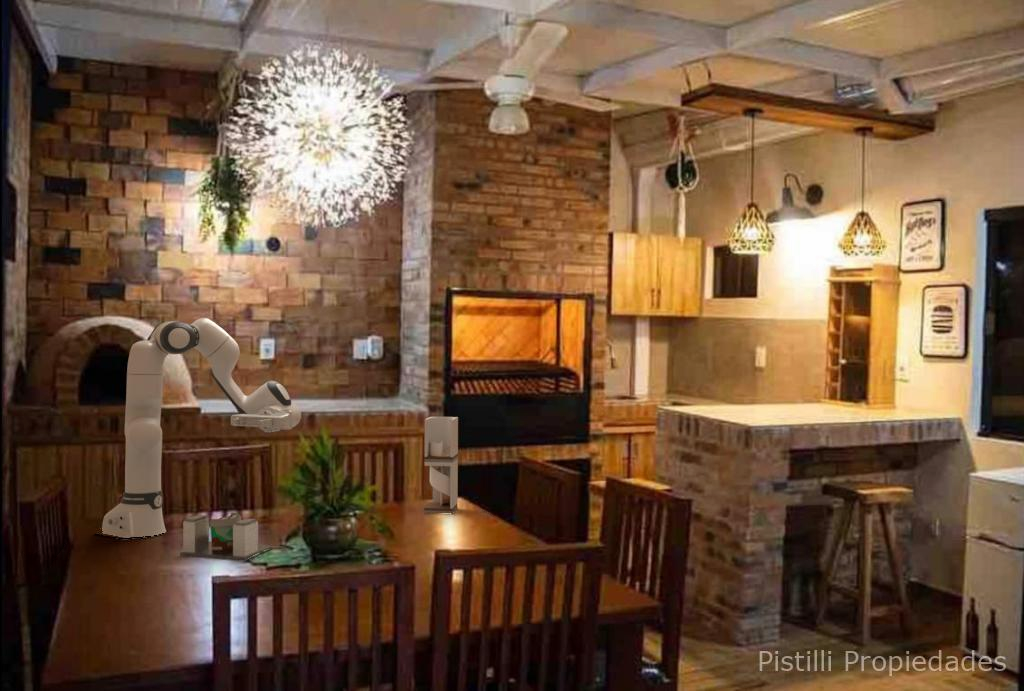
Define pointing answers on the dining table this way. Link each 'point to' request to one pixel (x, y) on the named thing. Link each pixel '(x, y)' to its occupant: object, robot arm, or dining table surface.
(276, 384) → the robot arm
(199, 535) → the rail
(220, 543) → the food container
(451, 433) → the white tiered stand
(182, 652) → the dining table surface
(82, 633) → the dining table surface
